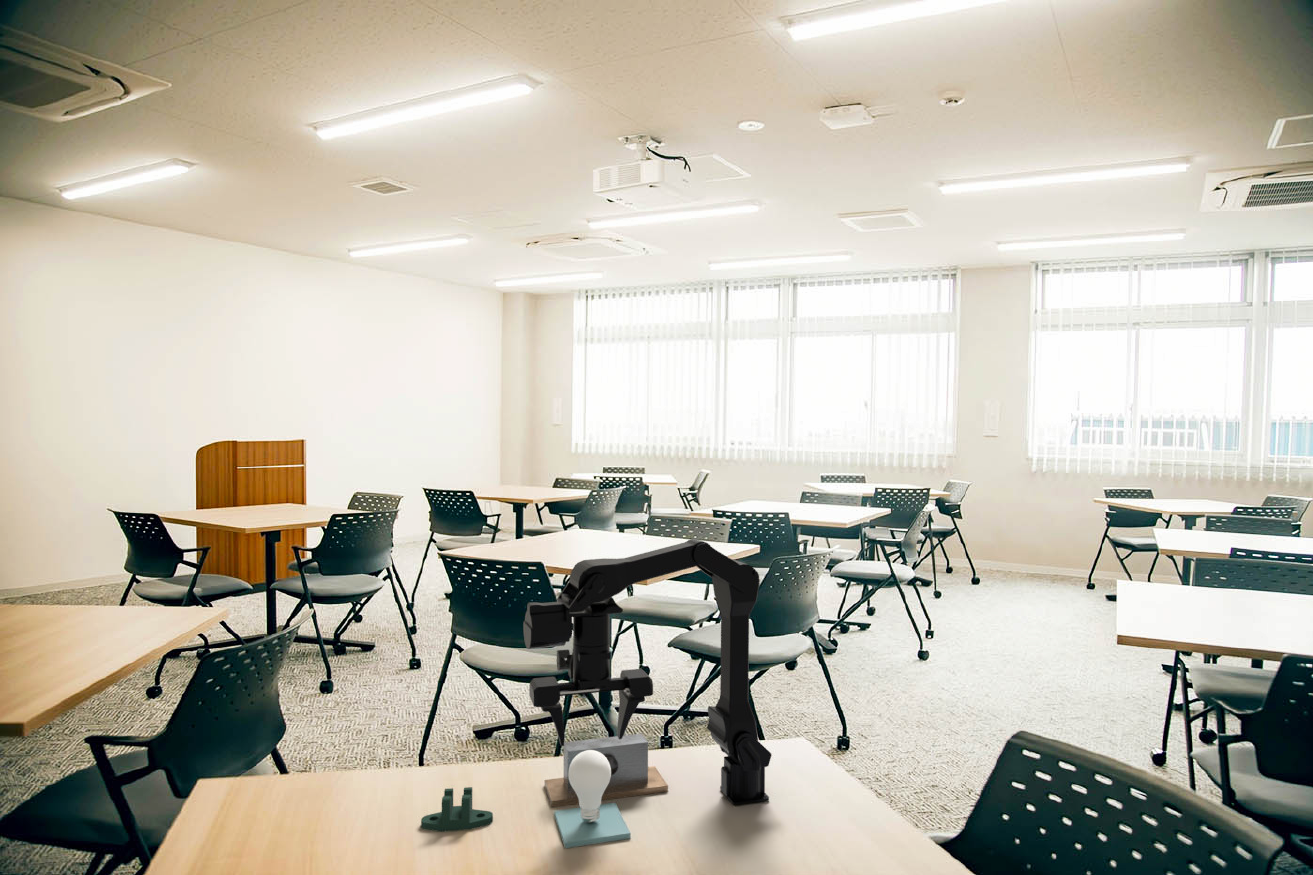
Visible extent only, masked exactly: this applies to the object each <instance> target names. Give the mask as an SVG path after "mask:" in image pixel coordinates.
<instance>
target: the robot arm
mask: <svg viewBox="0 0 1313 875" xmlns="http://www.w3.org/2000/svg"><path fill="white" fill-rule="evenodd" d="M694 567H696V568H698V569H699V570H700V571H701V572H703V573H704V574H705V575H707V576H708V577H710V578H711V580H712V587H713V594H714V597H715V599H716V600H715V601H716V603H717V606H718V609H719V611H720V677H719V678H720V679H719V682H720V686H719V687H720V688H719V689H720V690H719V693H720V695H719V697H718V698H719V699H718V701H717V703H716V704H715V705H713V706H712V705H711V706H710V705H708V707H707V713H708V724H707V725H706V726H707V727H706V730H708V731H709V732H710V736H711V738H712V740H713V741H714V742H715V743H716V744H717V745H719V748H720V751H721V752H722V753H724V754H726V756H723V766H722V767H720V771H721V772H720V779H721V780H720V787H719V789H720V791H721V792H722V793H723V794H724V795H725V797H726V798H727V799H728V801H729V802H730V803H731V804H732V805H734V806H739V805H748V804H753V803H760V802H761V803H762V802H767V801H769V800H770V796H769V795H768V794H767V793H766V784H765V783H766V782H765V781H766V778H765V777H766V774H765V772H766V767H769V766H770V765H769V764H770V762H771V759H772V756H773V755H772V753H771V752H770V751H769V750H768V749H767V748H766V746H764V745H763V744H762V743H761V742H760V741H759V736H758V729H757V720H756V718H755V714H754V713H753V710H752V707H751V704H750V701H749V673H750V672H749V670H750V668H749V666H750V665H749V662H750V661H749V659H750V657H749V656H750V654H749V653H750V644H749V643H750V615H751V613H752V610H753V609H754V607H755V605H756V603H757V601H758V594H759V588H760V583H761V581H760V574H759V572H758V571H757V570H756V569H755V568H754V567H753V566H752V565H750V564H747V563H745V562H741V561H739V560H735V559H732V558H730V557H728V556H726V554H723V553H722V552H720V551H718V550H717V549H715V548H714V547H713V546H711V545H710V544H709V543H708V542H705V541H702V540H699V539H696V538H691V539H690V538H689V539H688V540H686V541H685V542H680V543H677V544H673V545H669V546H665V547H662V548H658V549H654V550H651V551H646V552H644V553H643V552H642V553H639V554H634V555H632V556H628V557H623V558H622V557H620V558H594V559H592V558H591V559H590V558H589V559H585V560H584V559H583V560H580V561H578V562H577V563H576V564H575V565H574V567H573V568H572V569H571V571H570V576H569V581H567V583H566V585H565V587H564V588H563V590H561V592H560V593H559V595H558V596H557V598H556V601H552V602H550V601H549V602H537V601H536V602H534V601H533V602H528V603H527V605H526V606H527V610H526V612H525V616H524V621H523V624H522V626H523V628H522V629H523V638H524V645H525V647H526V649H527V650H533V649H544V648H554V647H562V646H563V647H564V646H565V645H566V643H570V639H571V638H572V641H573V642H572V654H571V653H570V649H558V650H556V669H557V671H568V672H567V673H568V674H567V675H568V676H569V678H570V680H572V681H570V682H569V681H568V682H560V683H559V682H558V681H557V679H556V677H555V676H546V677H545V676H544V677H535V678H532V680H530V682H529V691H528V692H529V694H528V695H529V696H528V697H529V698H530V700H531V703H532V705H533V707H535V708H540V709H541V711H542V712H544V713H548V712H549V714H550V717H551V718H552V722H553V724H554V727H555V731H556V734H557V737H558V740H559V744H560V746H561V747H564V742H565V728H564V713H563V707H562V705H561V702H560V701H561V697H565V696H574V695H576V696H577V695H586V694H596V693H606V692H615V691H616V692H617V691H618V697H619V698H618V699H619V705H618V715H617V716H618V719H617V727H616V728H617V736H618V738H619V739H622V737H623V736H624V735H625V732H626V731H627V727H628V725H629V722H630V720H631V718H632V716H633V714H635V711H636V709H637V708H638V707H639V706H638V705H639V704H640V703H644V702H645V701H646V698H645V697H651V696H652V695H653V696H654V683H653V679H652V678H651V676H649V675H648V673H646V671H644V669H642V668H635V669H623V670H620V675H619V677H612V678H611V677H610V673H611V672H610V670H611V666H610V664H611V662H610V660H612V659H611V658H612V657H611V656H612V655H611V650H610V646H611V644H610V643H611V642H610V641H611V640H610V636H611V634H610V631H611V630H610V628H611V626H610V625H611V622H610V620H611V619H610V615H612V614H613V615H614V614H622V613H623V612H624V609H623V608H622V607H621V606H620V605H618V603H617V602H616V601H615V599H614V596H617V595H619V594H621V592H623V591H624V590H625V589H627V588H628V587H630V586H633V585H635V584H637V583H641V582H643V581H647V580H652V579H655V578H658V577H659V578H660V577H662V576H666V575H669V574H673V573H677V572H681V571H684V570H687V569H691V568H694Z"/></svg>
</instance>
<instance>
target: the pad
mask: <svg viewBox="0 0 1313 875" xmlns="http://www.w3.org/2000/svg"><path fill="white" fill-rule="evenodd" d="M599 809H600V817H599V819H598V820H596V821H595V822H592V823H588V822H585V821H583V820H582V817H581V807H580V806H579V807H574V808H566V809H560V810H559V809H558V810H554V813H553V814H554V815H553V817H554V819H555V822H556V825H557V829H558V831H559V834H560V838H561V841H562V843H563V847H564V848H565V849H569V848H575V847H576V848H577V847H583V846H589V845H595V844H596V845H597V844H601V843H608V842H614V841H615V842H616V841H621V840H629V839H631V831H630V829H629V827H628V825H627V823H626V821H625V819H624V817H623V815H622V814H621V811H620V809H619V807H618V806H617V803H616V802H610V803H601V805H600V806H599Z"/></svg>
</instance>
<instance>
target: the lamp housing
mask: <svg viewBox="0 0 1313 875" xmlns="http://www.w3.org/2000/svg"><path fill="white" fill-rule="evenodd" d="M586 750H595V751H598V752H600V753H602V754H603V755H604V756H605V757H606V758H607V760H608V762H609V764H610V767H611V778H610V781H609V784H608V786H607V787H606V789H605V791H604V793H603V795H602V798H601V801H607V800H612V799H621V798H629V797H637V796H643V795H650V794H651V795H652V794H658V793H667V792H669V785H668V784H667V782H666V780H665V779H664V778H663V776H662V774H661V773H660V772H659V770H658V769H657V767H656V766H654V765H652V766H649V741H648V740H647V739H646V737H645V736H644V735H643V733H636V734H627V735H625V734H624V735H623V737H622V739H619V738H618V735H615V736H608V737H600V738H599V737H598V738H590V739H582V740H572V741H564V746H563V777H558V778H550V779H544V790H545V792H546V794H547V797H548V801H549V804H550V807H551V808H556V807H564V806H571V805H578V804H579V799H578V796H577V794H576V792H575V791H574V789H573V788H572V786H571V784H570V781H569V776H568V772H569V767H570V764H571V762H572V760H573V759H574V758H575V756H576V755H578V754H579V753H581V752H583V751H586Z"/></svg>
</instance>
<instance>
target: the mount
mask: <svg viewBox="0 0 1313 875" xmlns="http://www.w3.org/2000/svg"><path fill="white" fill-rule="evenodd" d="M443 792H444V794H443V796H442V798H441V811H439V812H434V813H429V814H426V815H424V816H423V817H422V818H421V819H420V822H421V823H420V828H421V829H423V830H426V831H434V832H439V833H440V832H457V831H470V830H474V829H478V828H483V827H486V826H489V825H491V824H492V823H493V822H494V817H493V816H494V814H493V812H492V811H489V810H483V809H474V808H473V787H472V786H470V787H466V786H465V787H464V788H463V794H462V795H461V802H460V804H461V805H454V788H453V787H451V788H445V789H444V791H443Z"/></svg>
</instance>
